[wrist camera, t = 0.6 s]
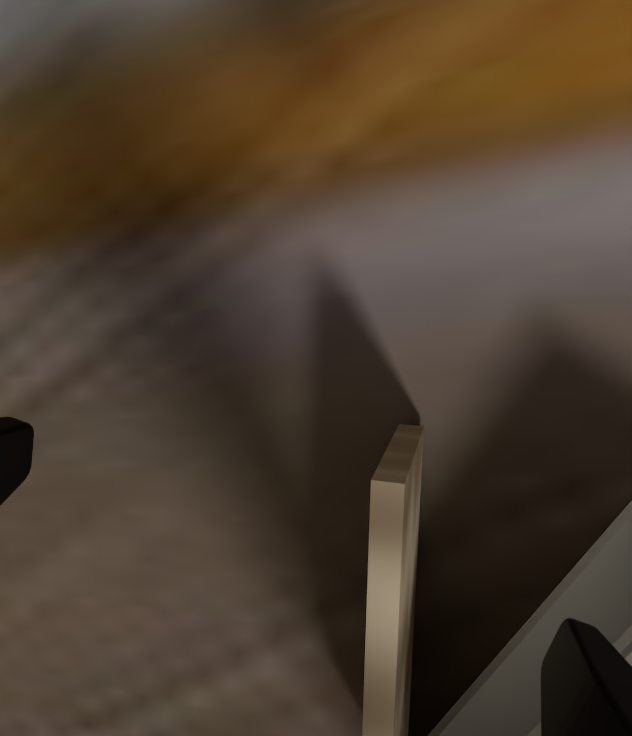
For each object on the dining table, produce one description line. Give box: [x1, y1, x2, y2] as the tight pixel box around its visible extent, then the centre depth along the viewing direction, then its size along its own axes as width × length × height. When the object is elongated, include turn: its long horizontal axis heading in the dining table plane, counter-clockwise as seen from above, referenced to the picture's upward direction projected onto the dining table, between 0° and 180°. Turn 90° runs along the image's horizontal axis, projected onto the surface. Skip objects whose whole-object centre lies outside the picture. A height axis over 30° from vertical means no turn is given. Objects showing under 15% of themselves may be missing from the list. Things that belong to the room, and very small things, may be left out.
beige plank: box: [362, 424, 424, 736], centre depth 21 cm, size 16×1×6 cm, turn 179°
